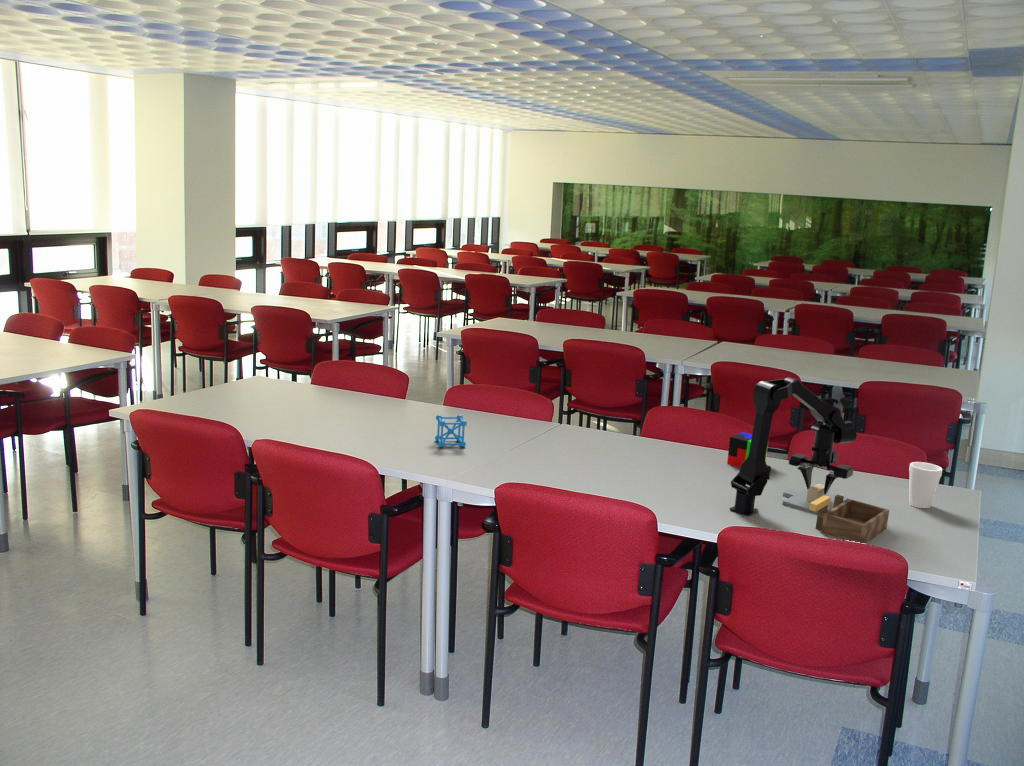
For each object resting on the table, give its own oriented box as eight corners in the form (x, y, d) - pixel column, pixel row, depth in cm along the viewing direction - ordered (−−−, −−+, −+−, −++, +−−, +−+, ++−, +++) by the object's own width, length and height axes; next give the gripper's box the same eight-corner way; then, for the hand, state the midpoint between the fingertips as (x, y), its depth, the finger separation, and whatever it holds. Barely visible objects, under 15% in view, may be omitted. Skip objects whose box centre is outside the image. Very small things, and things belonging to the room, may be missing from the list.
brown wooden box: (862, 546, 252) (866, 521, 250) (811, 530, 261) (815, 507, 259) (886, 529, 266) (890, 505, 264) (837, 515, 275) (840, 492, 273)
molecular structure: (438, 448, 319) (439, 421, 317) (434, 440, 329) (435, 413, 326) (466, 448, 321) (467, 421, 319) (461, 440, 331) (462, 413, 329)
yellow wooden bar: (815, 511, 255) (816, 505, 254) (809, 509, 256) (809, 503, 256) (829, 503, 262) (830, 497, 262) (823, 501, 264) (824, 495, 263)
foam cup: (897, 502, 290) (904, 464, 287) (914, 498, 295) (920, 460, 292) (925, 512, 282) (932, 472, 279) (941, 507, 287) (948, 468, 284)
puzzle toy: (739, 458, 328) (742, 431, 326) (765, 464, 322) (768, 437, 320) (727, 463, 321) (730, 436, 318) (753, 470, 315) (756, 443, 312)
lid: (822, 516, 274) (825, 500, 272) (771, 501, 284) (774, 485, 283) (847, 501, 288) (850, 486, 287) (798, 487, 299) (800, 472, 298)
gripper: (863, 446, 281) (855, 493, 284) (805, 433, 293) (799, 478, 296) (849, 453, 273) (842, 501, 276) (790, 439, 284) (784, 486, 288)
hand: (816, 491), depth 284 cm, fingers open, 5 cm apart
